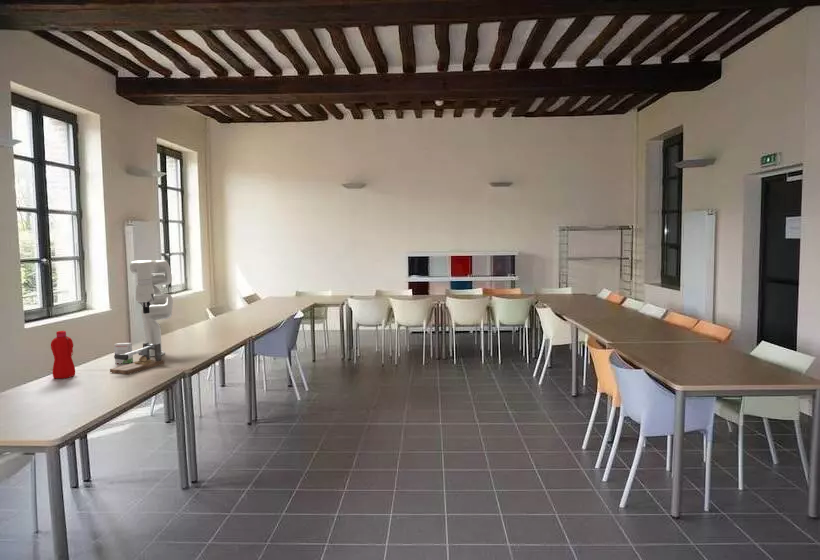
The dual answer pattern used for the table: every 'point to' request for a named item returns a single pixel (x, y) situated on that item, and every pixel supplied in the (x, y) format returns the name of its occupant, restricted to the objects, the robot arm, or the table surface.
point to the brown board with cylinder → (141, 365)
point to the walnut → (142, 359)
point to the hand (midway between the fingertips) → (146, 313)
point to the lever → (135, 352)
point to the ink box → (123, 352)
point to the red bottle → (62, 356)
